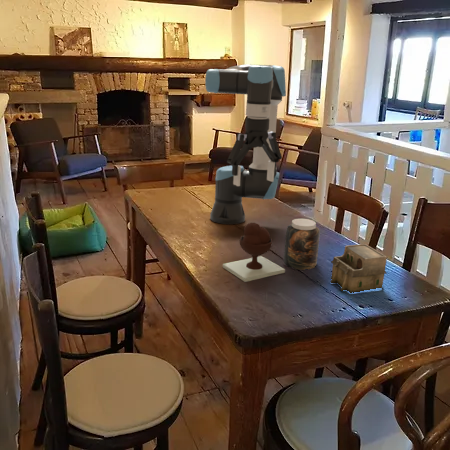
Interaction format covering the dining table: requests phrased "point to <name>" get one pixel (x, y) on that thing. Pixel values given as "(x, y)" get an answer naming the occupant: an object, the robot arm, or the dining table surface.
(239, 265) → the board
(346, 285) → the miniature house
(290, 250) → the jar
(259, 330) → the dining table surface
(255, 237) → the ice cream bowl
